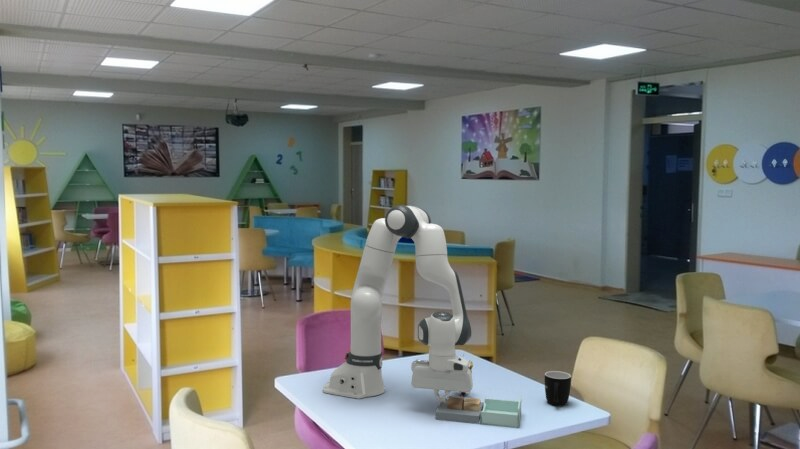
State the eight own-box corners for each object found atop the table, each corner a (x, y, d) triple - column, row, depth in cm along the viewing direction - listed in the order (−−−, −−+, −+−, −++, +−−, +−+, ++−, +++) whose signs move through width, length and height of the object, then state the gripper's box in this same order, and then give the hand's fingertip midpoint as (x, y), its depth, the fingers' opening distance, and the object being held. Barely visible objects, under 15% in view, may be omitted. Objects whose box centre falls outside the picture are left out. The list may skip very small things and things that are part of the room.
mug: (545, 397, 231) (545, 369, 231) (571, 400, 229) (571, 372, 228) (541, 408, 220) (542, 379, 219) (568, 412, 217) (569, 382, 216)
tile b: (446, 408, 212) (447, 401, 212) (449, 403, 217) (449, 396, 217) (462, 409, 211) (462, 402, 211) (464, 404, 216) (464, 397, 215)
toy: (471, 399, 229) (472, 357, 228) (451, 397, 230) (452, 356, 229) (473, 392, 236) (474, 352, 235) (453, 391, 237) (454, 350, 236)
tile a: (463, 410, 211) (463, 402, 211) (465, 404, 216) (465, 397, 215) (478, 411, 210) (479, 404, 209) (480, 406, 214) (480, 399, 214)
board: (435, 419, 209) (435, 411, 209) (442, 405, 222) (442, 398, 221) (478, 423, 206) (479, 416, 206) (483, 409, 218) (483, 402, 218)
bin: (480, 423, 206) (480, 405, 205) (484, 409, 218) (485, 392, 218) (518, 427, 203) (519, 409, 202) (521, 413, 215) (521, 395, 215)
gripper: (409, 361, 213) (408, 402, 214) (471, 366, 208) (470, 408, 209) (413, 356, 219) (413, 396, 220) (473, 361, 214) (473, 402, 215)
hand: (441, 402), depth 215 cm, fingers closed
